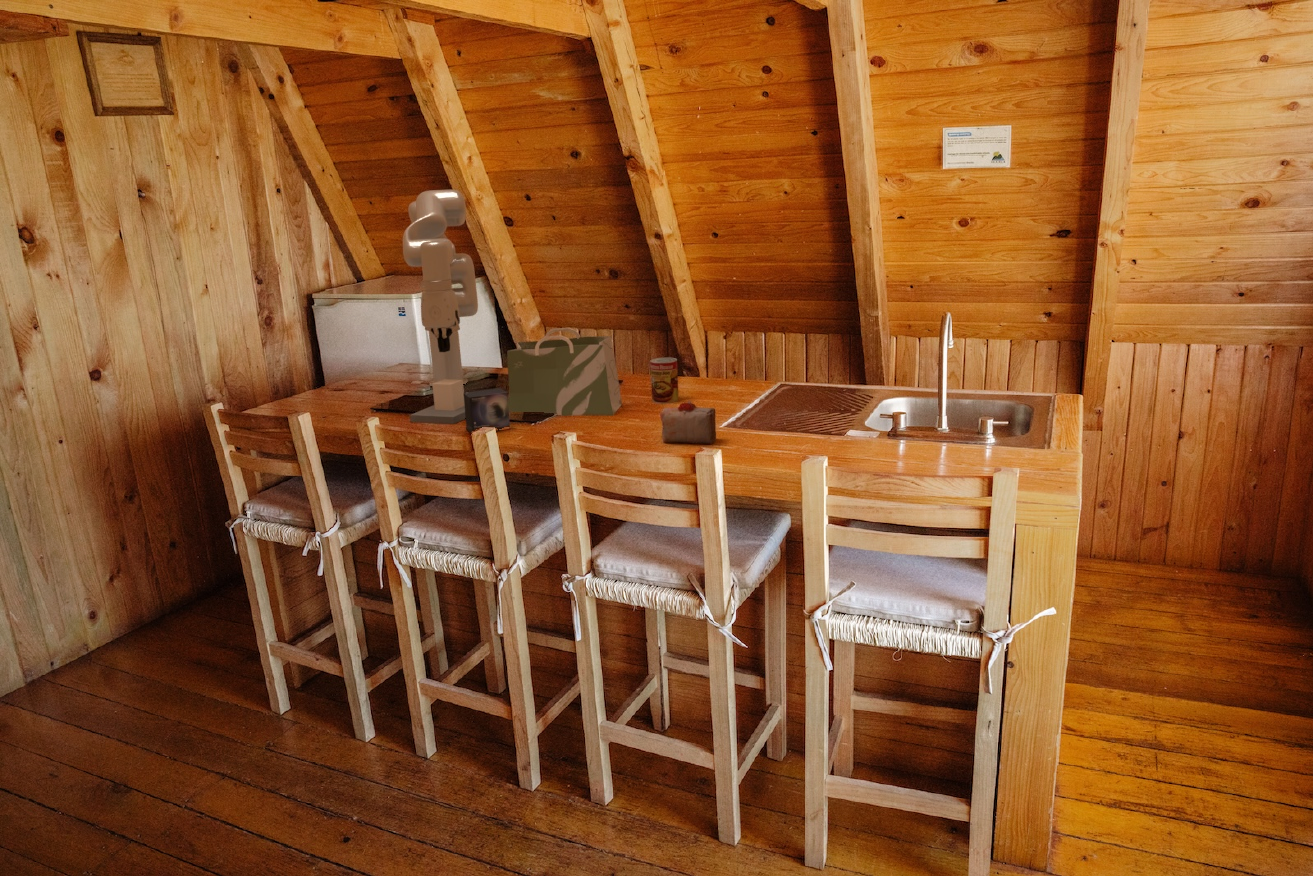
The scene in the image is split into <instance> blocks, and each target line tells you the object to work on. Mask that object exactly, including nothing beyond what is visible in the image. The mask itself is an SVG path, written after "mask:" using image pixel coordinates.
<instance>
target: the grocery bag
mask: <svg viewBox="0 0 1313 876" xmlns="http://www.w3.org/2000/svg"><path fill="white" fill-rule="evenodd" d="M557 332H568V333H569V332H570V333H573V334H574V335H575V336H576V337H572V338H569V337H566V336H564V335H551V334H554V333H557ZM550 335H551V336H550ZM613 347H614V346H613V342H612V339H611V335H610V336H608V335H605V336H604V335H602V336H601V335H600V336H582V337H581V335H580V333H579V332H578V331H577V330H576V329H573V328H571V327H562V328H552V329H550V330H549V331H547V332H546V334H545V336H544V337H542V338H540V339H538V340H534V341H533V340H532V341H517V342H516V348H515V349H509V350H507V352H506V353H507V355H506V356H507V374H508V391H509V393H508V409H509V411H511V412H544V413H554V414H557V415H561V416H560V417H563V416H564V417H565V416H569V417H570V416H614V415H615V414H616V412H617V411H618V409H619V408H621V406H622V405H623V402H622V397H621V396H622V395H621V389H620V382H619V376H618V370H617V364H616V363H617V362H616V358H615V357H616V356H615V352H614V348H613Z"/></svg>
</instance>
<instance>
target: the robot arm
mask: <svg viewBox="0 0 1313 876" xmlns="http://www.w3.org/2000/svg"><path fill="white" fill-rule="evenodd" d="M415 199H416V200H415V201H412V202H411V203H409V205H408V208H407V209H408V216H409V219H410V225H409V226H407V227H406V228H405V230H404V233H403V235H402V236H403V237H402V252H403V253H402V255H403V260H404V261H405V263H406V264H407V265H408V266H409V267H412V268H413V267H414V268H416V267H417V268H419V267H421V268H422V270H421V271H422V278H423V280H422V281H421V282H420V287H421V288H423V290H424V291H422V292H421V298H420V315H421V316H420V317H421V318H420V320H421V324H422V326H423V327H424V330H425V331H427V332H428V337H429V348H430V358H431V366H432V367H431V368H432V376H433V380H430V381H429V382H428V383H429V385H428V386H429V387H430V386H432V384H433V383H436V382H438V381H441V380H444V379H448V380H463V384H465V385H467V384H468V383H469V379H468V378H465V377H464V375H467V374H468V373H469V370H468V367H464V368H463V365H462V355H461V346H460V336H459V331H460V330H461V327H460V323H461V318H464V317H465V318H466V317H473V316H475V315H476V314H477V313H478V310H479V301H478V292H477V283H476V282H477V281H476V273H475V266H474V262H473V259H472V257H471V256H470V255H469V254H467V253H463V252H461V253H456V246H455V244H454V243H453V242H452V241H451V239H449V238H448V237H447V235H446V234H445V232H446V230H447V228H448V227H461V226H462V225H464V224H465V222H466V218H467V206H466V201H465V198H464V195H463V194H462V192H461V191H460V190H457V189H436V190H435V189H433V190H432V189H431V190H425V191H423V192H421V193H419V194H418V195H417V197H416V198H415ZM453 284H455V285H456V284H460V285H461V286H462V287H453V286H452V285H453ZM467 382H468V383H467ZM466 383H467V384H466Z"/></svg>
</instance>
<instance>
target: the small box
mask: <svg viewBox="0 0 1313 876" xmlns="http://www.w3.org/2000/svg"><path fill="white" fill-rule="evenodd" d="M463 395H464V405H465V418H466V419H465V430H466V431H468V432H469V433H470V434H471V432H472V431H475V430H476V429H479V428H482V427H495V428H497V429H498V431H497V432H500V431H499V429H502V428H504V427H510V428H511V425H510V424H511V422H510V415H509V409H508V397H509V393H508V391H506V390H504V389H503V388H502V387H496V388H489V389H482V390H481V389H480V390H472V391H466V392H465V391H464V393H463Z"/></svg>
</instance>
